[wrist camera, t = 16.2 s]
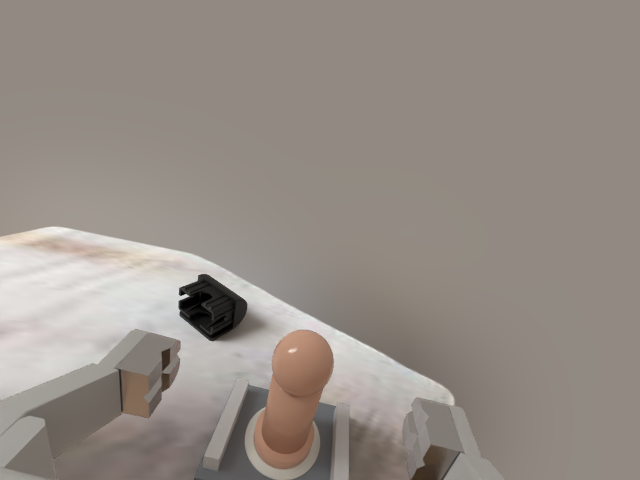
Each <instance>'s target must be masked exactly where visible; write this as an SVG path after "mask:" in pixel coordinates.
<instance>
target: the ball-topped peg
mask: <svg viewBox="0 0 640 480" xmlns="http://www.w3.org/2000/svg"><path fill="white" fill-rule="evenodd" d="M333 367H334V359H333V353H332V350H331V348H330V346H329V344H328V342H327V341H326V340H325V339H324V338H323V337H322V336H321V335H319V334H318V333H316V332H313V331H310V330H297V331H294V332H291V333H289V334H287V335H286V336H285V337H283V338H282V339H281V340H280V342H279V343H278V344H277V346H276V348H275V350H274V353H273V356H272V371H273V375H272V379H271V384H270V389H269V393H268V398H267V403H266V407H265V409H264V410H263V411H262V413H261V414H260V415H259V417H258V419H257V422H256V425H255V430H254V436H253V441H254V447H255V450H256V452H257V454H258V456H259V457H260V459H261V460H262V461H263V462H264V463H266V464H267V465H269V466H271V467H273V468H276V469H291V468H294V467H296V466H298V465H299V464H301V463H302V462H303V461H304V460H305V459H306V457H307V456H308V454H309V452H310V449H311V446H312V443H313V440H314V426H313V420H314V416H315V413H316V410H317V407H318V404H319V400H320V397H321V394H322V391H323V388H324V386H325V385H326V384H327V383H328V381H329V379H330V377H331V375H332V372H333Z"/></svg>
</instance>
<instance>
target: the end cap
mask: <svg viewBox="0 0 640 480" xmlns="http://www.w3.org/2000/svg"><path fill="white" fill-rule="evenodd" d="M184 294H187V295H189V296H190V297H187V298H185V299H182V300H180V301H179V310H180V316H181V317H182V318H183V319H184V320H185V321H187V322H188V323H189V324H190V325H191V326H193V327H194V328H195V329H196V330H197V331H199V332H200V333H201V334H202V335H204V336H205V337H206V338H207V339H208V340H210V341H213V340H215V339H217V338H219V337H220V336H222V335H224V334H226V333H227V332H229V331H231V330H232V329H233V328H235V327H236V326H237V325H238V324H239V323H240V322H241V321H242V319H243V318H244V316H245V314H246V311H247V302H246V301H245V300H244V299H243V298H241V297H240V296H238V295H237V294H236V293H234V292H233V291H231V290H230V289H228V288H227V287H225V286H224V285H222V284H221V283H219V282H218V281H216V280H215V279H214V278H212V277H211V276H209V275H207V274H201V275H198V281H197V282H194V283H191V284H189V285H186V286H183V287H181V288H179V295H180V296H182V295H184Z"/></svg>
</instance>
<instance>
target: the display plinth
mask: <svg viewBox="0 0 640 480" xmlns="http://www.w3.org/2000/svg"><path fill="white" fill-rule="evenodd" d="M268 393H269V390H267V389H262V388H258V387H254V386H250V385H249V381H248V380H244V379H240V378H237V380H236V382H235V385H234V387H233V389H232V392H231V394H230V396H229V398H228V401H227V403H226V405H225V408H224V410H223V412H222V415H221V417H220V419H219V422H218V424H217V426H216V429H215V431H214V433H213V436H212V438H211V440H210V443H209V445H208V447H207V449H206V452H205V454H204V456H203V459H202V461H201V463H200V466H199V468H198V470H197V473H196V475H195V477H194V480H349V405H347V404H342V403H338V402H337V405H336V406H332V405H328V404H324V403H320V402H319V404H318V407H317V410H316V413H315V416H314V420H313V426H314V440H313V443H312V446H311V449H310V452H309V454H308V456H307V457H306V459H305V460H304V461H303V462H302V463H301V464H299V465H298V466H296V467H294V468H291V469H276V468H273V467H271V466H269V465H267V464H266V463H264V462H263V461H262V460H261V459H260V457H259V456H258V454H257V452H256V450H255V447H254V441H253V436H254V430H255V425H256V422H257V419H258V417H259V415H260V414H261V413H262V411H263V410H264V409H265V407H266V403H267V398H268Z"/></svg>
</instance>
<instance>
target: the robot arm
mask: <svg viewBox="0 0 640 480" xmlns="http://www.w3.org/2000/svg"><path fill="white" fill-rule="evenodd" d="M179 350H180V341H179V340H176V339H173V338H169V337H165V336H161V335H158V334H154V333H149V332H146V331H142V330H138V329H135V330H133V331H131V332H130V333H129V334H128V335H127V336H126V337H125V338H124V339H123V340H122V341H121V342H120V343H119V344H117V345H116V346H115V347H114V348H113V349H112V350H111V351H110V352H109V353H108V354H107V355H106V356H105V357H104V358H103V359H102V360H101V361H100V362H99V363H98V364H93V363H92V364H90V365H87V366H85V367H83V368H80V369H78V370H75V371H73V372H70V373H68V374H65V375H63V376H60V377H58V378H56V379H53V380H51V381H48V382H46V383H43V384H41V385H38V386H36V387H33V388H31V389H29V390H26V391H24V392H21V393H19V394H16V395H14V396H11V397H9V398H6V399H4V400H2V401H0V480H57V475H56V471H55V466H54V461H53V459H54V458H56V457H57V456H59V455H60V454H62V453H63V452H65V451H66V450H68V449H70V448H71V447H73V446H74V445H76V444H77V443H79V442H80V441H82V440H83V439H85V438H86V437H88V436H89V435H91V434H92V433H94V432H95V431H97V430H98V429H100V428H101V427H103V426H105V425H106V424H108V423H109V422H111V421H112V420H114V419H115V418H117V417H118V416H120V415H121V413H126V414H131V415H135V416H140V417H145V418H149V417H150V416H151V414H152V413H153V411H154V410H155V408H156V407H157V405H158V404H159V402H160V401H161V393H162V392H163V391H164V390H166V389H168V388H169V387H170V386H171V384H172V383H173V381H174V379H175V377H176V375H177V372H178V369H179V365H180V358H179V357H178V355H177V353H178V352H179ZM411 406H412V412H410V413H408V414H407V415H406V417H405V420H404V424H403V442H404V446H405V447H406V448H407V450H408V451H409V455H408V457H407V458H406V461H407V467H408V473H409V479H410V480H505V479H504V478H503V476H502V475H501V474H500V473H499V472H498V471H497V470H496V469H495V468H494V467H493V465H492V464H491V463H490V462H489V461H488V460H487V459H485V458H482V456H481V454H480V451H479V448H478V446H477V443H476V441H475V438H474V435H473V433H472V430H471V428H470V425H469V423H468V420H467V418H466V415H465V412H464V410H463V409H462V408H460V407H456V406H452V405H447V404H443V403H439V402H435V401H430V400H426V399H422V398H415V399H414V401H413V403H412V405H411Z"/></svg>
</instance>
